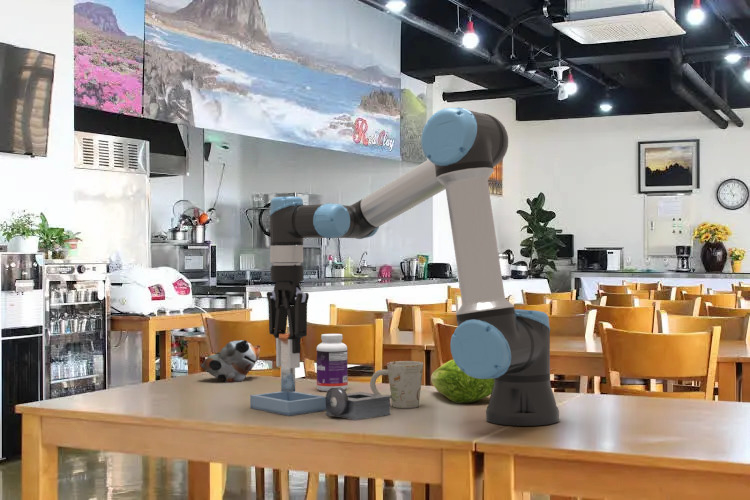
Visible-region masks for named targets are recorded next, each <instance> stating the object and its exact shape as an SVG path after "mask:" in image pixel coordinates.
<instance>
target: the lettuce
mask: <svg viewBox="0 0 750 500" xmlns="http://www.w3.org/2000/svg"><path fill="white" fill-rule="evenodd" d="M430 380H431V384H432V385H433V387H434V389H436V391H437V392H438V393H440V394H441V395H443V396H444V397H446V398H447V399H448V400H449V401H452V402H453V403H458V404H470V403H476V402H478V401H480V400H482V399H485V398H487V397H489V396H491V392H492V389H493V386H494V378H490V379H478V378H474V377H471V376H469V375H467V374H466V373H464V372H463V371H462V370H461V369H460V368H459V367H458V366H457V364H456V363H455V361H454V359H453V358H452V359H450V360H448V361H446V362H445V363H443V364H442V365H440V366H439V367H438V368H437V369H435V370H434V371H432V374H431V376H430Z"/></svg>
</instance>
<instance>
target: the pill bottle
mask: <svg viewBox="0 0 750 500" xmlns="http://www.w3.org/2000/svg"><path fill="white" fill-rule="evenodd" d="M320 339H321V341H322V342H320V343H319V344H318V345H317V346H316V348H315V349H316V352H315V353H316V388H317V390H319V391H322V392H328V390H329V389H331V388H336V387H341V388H342V389H344V390H345V391H346V389H348V386H349V385H348V381H349V380H348V378H349V377H348V346H347V344H345V343H344V342H343V334H342V333H324V334H323V333H322V334H321V336H320Z"/></svg>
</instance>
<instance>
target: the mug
mask: <svg viewBox="0 0 750 500" xmlns="http://www.w3.org/2000/svg"><path fill="white" fill-rule="evenodd" d="M386 368H387V369H378V370H376V371H375V372H374V373H373V374H372V376H371V378H370V382H369V384H370V385H369V386H370V390H371V391H372V394H378V395H384V396H390V399H391V405H392V407H393V408H396V409H414V408H418V407H419V406H420V400H421V399H420V398H421V389H422V388H421V387H422V382H423V372H424V362H422V361H415V360H414V361H413V360H398V361H390V362H387V363H386ZM380 376H388V381H389V382H388V383H389V390H390V394H382V393H381V392H379V390H378V388H377V387H376V382H377V379H378V378H379V377H380Z"/></svg>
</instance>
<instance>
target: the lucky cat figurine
mask: <svg viewBox="0 0 750 500" xmlns="http://www.w3.org/2000/svg"><path fill="white" fill-rule="evenodd" d="M260 352H261V345H258V344H257V345H252V343H251V342H249V341H247V340H243V339H241V340H232V341H229V342H228V343H226V344H225V346H223V347H222V348H221V350H220V352H217V353H215V354H211V355H209V356H207V357H206V358H205V359H204V361H203V363H201V364H200V367H201V368H202V369H204V370H205V371H206V372H208V373H209V375H211V376H212V377H215V378H216V379H218V380H223V382H224V383H237V382H242V381H244V380H245V378H247V375H248V374H249V372H251V371H252V370H253V368H254V367H255V366H256V363H257V362H258V360H259V359H260Z"/></svg>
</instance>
